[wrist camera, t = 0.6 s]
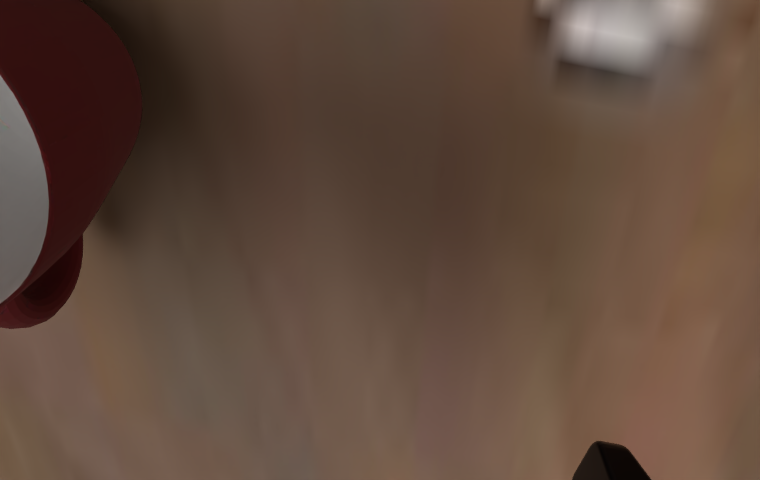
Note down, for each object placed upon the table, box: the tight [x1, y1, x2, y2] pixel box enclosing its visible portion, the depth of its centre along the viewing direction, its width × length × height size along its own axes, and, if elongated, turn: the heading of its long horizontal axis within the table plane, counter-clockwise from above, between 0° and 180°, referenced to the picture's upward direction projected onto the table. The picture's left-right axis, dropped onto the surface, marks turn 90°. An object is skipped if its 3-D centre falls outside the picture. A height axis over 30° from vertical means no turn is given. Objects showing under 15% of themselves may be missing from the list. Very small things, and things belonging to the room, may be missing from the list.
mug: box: [0, 0, 142, 329], centre depth 18 cm, size 11×8×10 cm
